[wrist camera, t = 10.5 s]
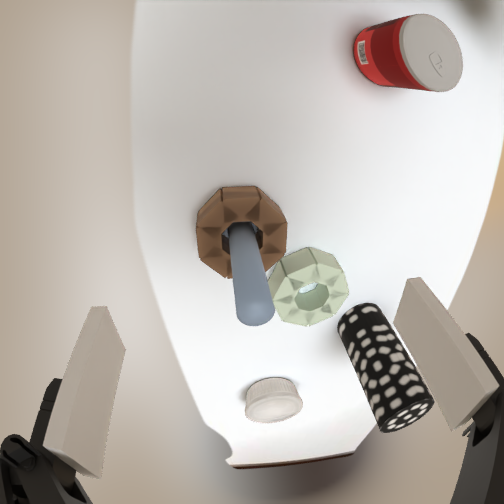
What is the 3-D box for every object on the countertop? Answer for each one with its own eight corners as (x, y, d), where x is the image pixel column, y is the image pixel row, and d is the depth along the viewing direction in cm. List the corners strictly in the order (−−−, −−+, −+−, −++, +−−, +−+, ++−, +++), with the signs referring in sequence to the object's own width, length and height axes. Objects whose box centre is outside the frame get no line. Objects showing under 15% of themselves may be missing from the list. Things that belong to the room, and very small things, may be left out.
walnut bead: (281, 185, 35) (288, 196, 32) (278, 257, 40) (284, 274, 37) (195, 189, 34) (193, 200, 31) (202, 262, 39) (201, 280, 36)
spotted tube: (387, 318, 49) (439, 405, 32) (350, 344, 51) (391, 436, 34) (369, 294, 46) (427, 392, 28) (328, 324, 48) (371, 427, 31)
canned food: (382, 98, 30) (438, 108, 21) (338, 50, 27) (387, 39, 18) (415, 63, 28) (474, 65, 19) (375, 16, 25) (429, 0, 15)
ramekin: (259, 408, 59) (262, 428, 55) (231, 387, 54) (233, 409, 49) (305, 390, 57) (311, 410, 53) (283, 366, 52) (289, 388, 48)
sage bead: (328, 238, 39) (338, 253, 36) (343, 290, 44) (353, 307, 41) (259, 267, 40) (263, 284, 37) (283, 315, 45) (288, 334, 42)
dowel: (251, 213, 36) (275, 295, 23) (251, 235, 38) (273, 324, 24) (227, 214, 36) (235, 298, 22) (227, 236, 38) (237, 327, 24)
